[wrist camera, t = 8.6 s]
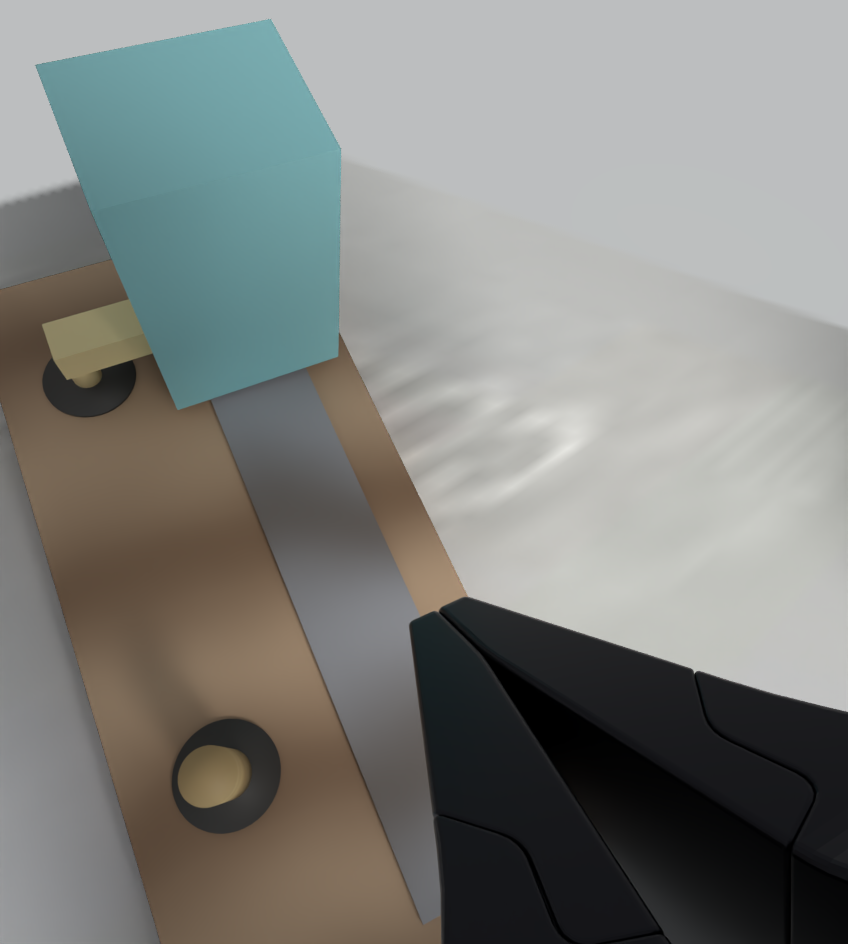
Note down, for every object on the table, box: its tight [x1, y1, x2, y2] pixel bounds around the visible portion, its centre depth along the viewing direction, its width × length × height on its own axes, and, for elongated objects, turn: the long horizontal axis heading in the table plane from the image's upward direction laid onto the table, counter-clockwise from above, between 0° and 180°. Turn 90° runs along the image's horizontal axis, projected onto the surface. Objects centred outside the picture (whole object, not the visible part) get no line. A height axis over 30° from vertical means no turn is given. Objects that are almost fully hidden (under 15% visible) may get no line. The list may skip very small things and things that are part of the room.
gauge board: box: [0, 259, 468, 944], centre depth 19 cm, size 22×10×5 cm, turn 25°
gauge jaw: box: [36, 19, 341, 410], centre depth 18 cm, size 4×7×8 cm, turn 115°
